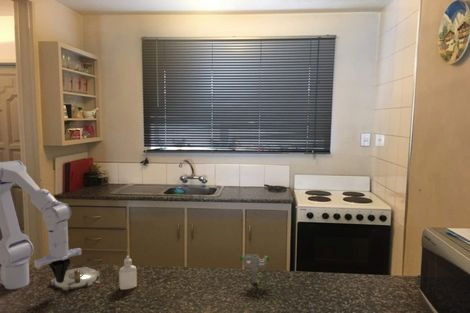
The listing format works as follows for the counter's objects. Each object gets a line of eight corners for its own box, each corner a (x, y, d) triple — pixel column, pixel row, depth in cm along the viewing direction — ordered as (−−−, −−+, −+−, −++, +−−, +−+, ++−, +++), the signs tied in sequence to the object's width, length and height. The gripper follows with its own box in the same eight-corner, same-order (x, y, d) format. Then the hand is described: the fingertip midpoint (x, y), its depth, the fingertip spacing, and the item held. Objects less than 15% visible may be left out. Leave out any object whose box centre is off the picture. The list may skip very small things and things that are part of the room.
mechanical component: (268, 284, 125) (269, 257, 124) (240, 283, 125) (240, 257, 124) (267, 280, 127) (268, 254, 127) (240, 280, 128) (240, 253, 127)
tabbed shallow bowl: (50, 276, 126) (50, 262, 126) (96, 268, 134) (96, 254, 133) (52, 293, 114) (51, 277, 113) (102, 283, 121) (102, 268, 121)
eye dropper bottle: (134, 292, 117) (133, 258, 116) (117, 292, 117) (117, 258, 116) (138, 286, 121) (137, 253, 120) (122, 286, 122) (122, 253, 121)
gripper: (41, 250, 104) (43, 293, 105) (86, 238, 116) (87, 277, 117) (30, 245, 108) (32, 287, 109) (74, 234, 120) (75, 271, 121)
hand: (60, 281), depth 113 cm, fingers closed
